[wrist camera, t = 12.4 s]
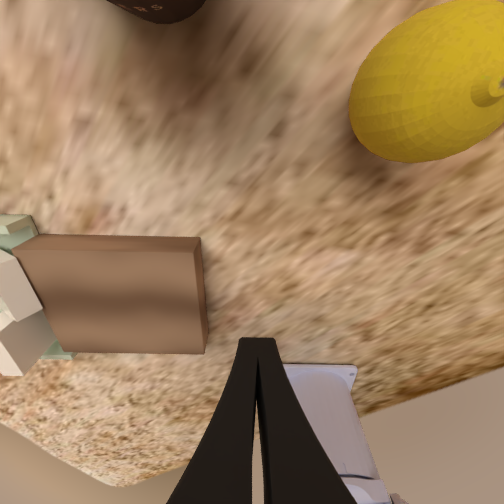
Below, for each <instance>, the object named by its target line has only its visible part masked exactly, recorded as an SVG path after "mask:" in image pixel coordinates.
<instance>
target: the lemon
mask: <svg viewBox="0 0 504 504" xmlns="http://www.w3.org/2000/svg"><path fill="white" fill-rule="evenodd" d="M349 118H350V122H351V126H352V129H353V131H354V133H355V135H356V137H357V138H358V140H359V142H360V143H362V144H363V145H364V146H365V147H366V148H367V149H368V150H369V151H370V152H372V153H373V154H376V155H378V156H380V157H382V158H384V159H387V160H391V161H397V162H405V163H418V162H426V161H433V160H439V159H443V158H446V157H449V156H452V155H454V154H457V153H460V152H462V151H465V150H467V149H468V148H470V147H472V146H473V145H475V144H477V143H478V142H480V141H482V140H483V139H485V138H486V137H487V136H489V135H490V134H491V133H492V132H493V131H494V130H496V129H497V128H498V127H499V126H500V125H501V124H502V123H503V122H504V3H502V2H499V1H496V0H454V1H450V2H447V3H444V4H441V5H437V6H434V7H431V8H428V9H425V10H423V11H421V12H419V13H417V14H415V15H413V16H412V17H410V18H409V19H407V20H406V21H404V22H403V23H401V24H399V25H398V26H396V27H395V28H393V29H392V30H391V31H390V32H389V33H388V34H387V35H386V36H385V37H384V38H383V39H382V40H381V41H380V42H379V43H378V44H377V45H376V46H375V47H374V48H373V49H372V50H371V52H370V53H369V55H368V56H367V57H366V59H365V60H364V62H363V63H362V65H361V66H360V68H359V70H358V73H357V75H356V77H355V80H354V82H353V84H352V88H351V93H350V98H349Z"/></svg>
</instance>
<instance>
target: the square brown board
mask: <svg viewBox="0 0 504 504" xmlns="http://www.w3.org/2000/svg"><path fill="white" fill-rule="evenodd" d="M11 251H12V253H13V255H14V257H16V259H17V261H18V263H19V264H20V266H21V268H22V270H23V272H24V274H25V276H26V277H27V279H28V281H29V283H30V285H31V287H32V289H33V291H34V292H35V294H36V296H37V298H38V300H39V302H40V304H41V306H42V307H43V309H42V311H43V313H44V315H45V317H46V318H47V320H48V322H49V324H50V326H51V328H52V330H53V332H54V334H55V336H56V338H57V340H58V342H59V344H60V346H61V347H62V349H63V351H64V352H87V353H148V354H204V353H205V348H206V343H207V338H208V333H209V332H208V321H207V310H206V299H205V287H204V276H203V265H202V254H201V243H200V237H157V236H108V235H59V234H38V235H36V236H34V237H32V238H31V239H29V240H27V241H25V242H23V243H21V244H20V245H18V246H16V247H14V248H12V249H11Z"/></svg>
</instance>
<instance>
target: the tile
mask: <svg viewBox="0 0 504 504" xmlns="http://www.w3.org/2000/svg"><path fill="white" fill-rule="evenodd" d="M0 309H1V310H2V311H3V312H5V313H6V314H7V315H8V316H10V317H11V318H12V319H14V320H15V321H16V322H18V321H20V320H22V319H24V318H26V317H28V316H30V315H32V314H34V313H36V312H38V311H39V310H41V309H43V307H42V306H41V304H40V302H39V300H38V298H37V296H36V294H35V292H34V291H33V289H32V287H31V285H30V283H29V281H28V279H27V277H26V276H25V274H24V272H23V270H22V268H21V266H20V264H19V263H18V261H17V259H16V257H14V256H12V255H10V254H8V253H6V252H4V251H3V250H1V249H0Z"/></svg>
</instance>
